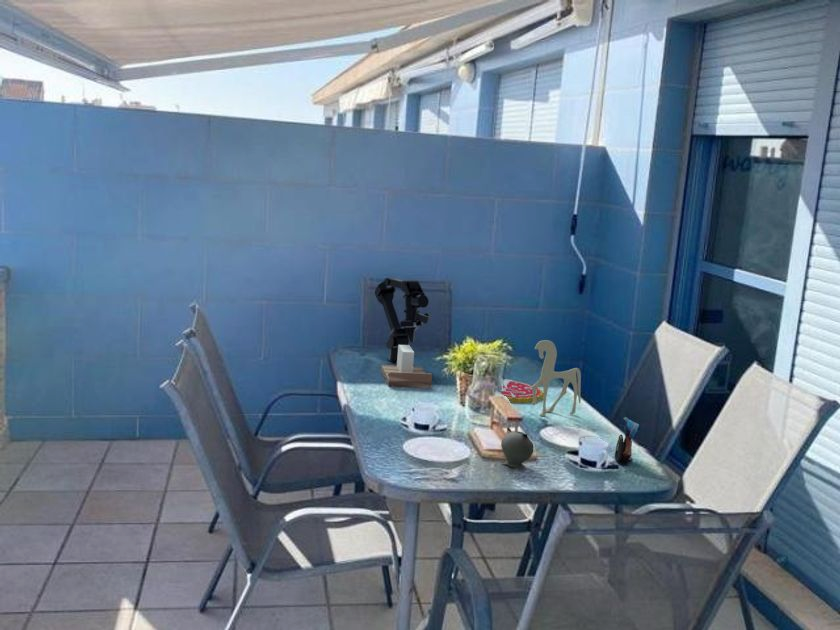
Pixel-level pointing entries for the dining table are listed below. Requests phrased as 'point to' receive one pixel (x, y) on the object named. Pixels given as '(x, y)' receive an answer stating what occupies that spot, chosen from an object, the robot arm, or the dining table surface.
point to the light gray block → (405, 358)
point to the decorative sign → (519, 392)
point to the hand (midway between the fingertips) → (412, 342)
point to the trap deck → (406, 377)
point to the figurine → (626, 443)
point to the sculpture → (554, 376)
